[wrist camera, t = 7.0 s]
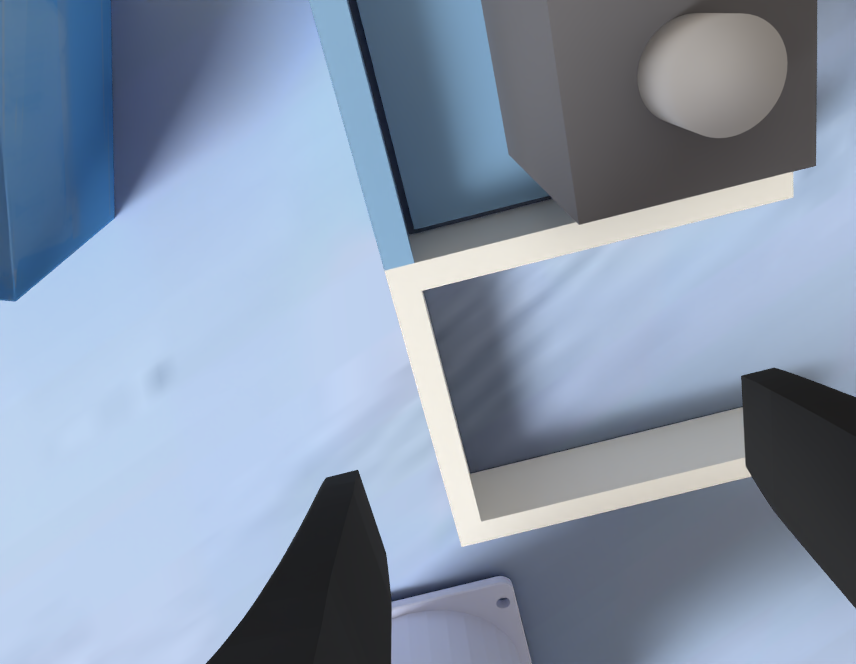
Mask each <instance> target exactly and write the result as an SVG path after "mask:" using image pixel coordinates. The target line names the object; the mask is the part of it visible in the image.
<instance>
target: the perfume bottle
mask: <svg viewBox="0 0 856 664" xmlns="http://www.w3.org/2000/svg"><path fill="white" fill-rule="evenodd" d="M114 218H115V207H114V150H113V93H112V36H111V0H0V300H5V301H17V300H18V299H19V298H20V297H21V296H23V295H24V294H25V293H26V292H27V291H29V290H30V289H31V288H32V287H33V286H35V285H36V284H37V283H38V282H39V281H40V280H42V279H43V278H44V277H45V276H46V275H48V274H49V273H50V272H51V271H52V270H54V269H55V268H56V267H57V266H58V265H60V264H61V263H62V262H63V261H64V260H65V259H67V258H68V257H69V256H70V255H71V254H73V253H74V252H75V251H76V250H77V249H79V248H80V247H81V246H82V245H83V244H84V243H86V242H87V241H88V240H89V239H90V238H92V237H93V236H94V235H95V234H96V233H98V232H99V231H100V230H101V229H102V228H103V227H105V226H106V225H107V224H108V223H109V222H111V221H112V220H113V219H114Z"/></svg>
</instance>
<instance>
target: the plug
mask: <svg viewBox="0 0 856 664" xmlns="http://www.w3.org/2000/svg"><path fill="white" fill-rule="evenodd" d="M481 4H482V10H483V15H484V21H485V26H486V32H487V37H488V43H489V48H490V54H491V60H492V65H493V71H494V76H495V82H496V87H497V93H498V98H499V104H500V109H501V115H502V121H503V126H504V132H505V137H506V143H507V148H508V154H509V155H510V156H511V157H512V158H513V159H514V160H515V161H516V162H517V163H518V164H519V165H520V166H521V167H522V168H523V169H524V170H525V171H526V172H527V173H528V174H529V175H530V176H531V177H532V178H533V179H534V180H535V181H536V182H537V183H538V184H539V185H540V186H541V187H542V188H543V189H544V190H545V191H546V192H547V193H548V194H549V195H550V196H551V197H552V198H553V199H554V200H555V201H556V202H557V203H558V204H559V205H560V206H561V207H562V208H563V209H564V210H565V211H566V212H567V213H568V214H569V215H570V216H571V217H572V218H573V219H574V220H575V221H576V222H577V223H578V224H579V225H581V224H585V223H589V222H593V221H597V220H601V219H605V218H609V217H613V216H617V215H621V214H625V213H629V212H633V211H637V210H641V209H645V208H649V207H653V206H657V205H661V204H665V203H669V202H673V201H677V200H681V199H685V198H689V197H693V196H697V195H701V194H705V193H709V192H713V191H717V190H721V189H725V188H729V187H733V186H737V185H741V184H745V183H749V182H753V181H757V180H761V179H765V178H769V177H773V176H777V175H781V174H785V173H789V172H793V171H797V170H801V169H805V168H809V167H813V166H816V88H817V0H481Z"/></svg>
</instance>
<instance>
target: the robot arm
mask: <svg viewBox="0 0 856 664" xmlns="http://www.w3.org/2000/svg"><path fill="white" fill-rule="evenodd" d="M741 380H742V401H743V422H744V443H745V464H746V468H747V469H748V471H749V473H750V474H751V476H752V478H753V479H754V481H755V482H756V484H757V486H758V487H759V489H760V491H761V492H762V494H763V495H764V497H765V498H766V500H767V501H768V503H769V504H770V506H771V507H772V509H773V511H774V512H775V513H776V514H777V516H778V517H779V518H780V519H781V521H782V522H783V523H784V524H785V525H786V527H787V528H788V529H789V530H790V531H791V533H792V534H793V535H794V536H795V537H796V539H797V540H798V541H799V542H800V543H801V545H802V546H803V547H804V548H805V549H806V550H807V552H808V553H809V554H810V555H811V556H812V558H813V559H814V560H815V561H816V562H817V563H818V565H819V566H820V567H821V568H822V569H823V570H824V572H825V573H826V574H827V575H828V576H829V578H830V579H831V580H832V581H833V582H834V583H835V585H836V586H837V587H838V588H839V589H840V590H841V592H842V593H843V594H844V595H845V596H846V598H847V599H848V600H849V601H850V602H851V603H852V605H853V606H854V607H855V608H856V397H854V396H851V395H848V394H846V393H843V392H840V391H838V390H835V389H832V388H830V387H827V386H825V385H822V384H819V383H817V382H814V381H811V380H809V379H806V378H803V377H801V376H798V375H795V374H792V373H789V372H786V371H783V370H780V369H777V368H771V369H767V370H763V371H759V372H755V373H751V374H747V375H743V376H741ZM501 598H506V599H504V600H498V599H501ZM206 664H532V662H531V658H530V653H529V649H528V645H527V641H526V637H525V633H524V629H523V625H522V621H521V617H520V613H519V609H518V605H517V601H516V597H515V592H514V588H513V585H512V582H511V580H510V579H509V578H507V577H504V576H497V577H492V578H488V579H484V580H480V581H476V582H472V583H468V584H463V585H459V586H455V587H451V588H447V589H443V590H439V591H435V592H430V593H426V594H422V595H418V596H414V597H410V598H406V599H402V600H397V601H393V602H391V592H390V582H389V574H388V565H387V557H386V552H385V549H384V546H383V543H382V540H381V537H380V534H379V531H378V528H377V525H376V522H375V519H374V516H373V513H372V510H371V507H370V504H369V501H368V498H367V495H366V492H365V489H364V486H363V483H362V480H361V477H360V474H359V471H358V470H356V471H351V472H347V473H343V474H339V475H335V476H331V477H327V478H326V479H325V480H324V482H323V483H322V485H321V487H320V489H319V491H318V493H317V495H316V497H315V499H314V501H313V503H312V505H311V507H310V509H309V511H308V513H307V515H306V516H305V518H304V520H303V522H302V524H301V526H300V528H299V530H298V532H297V533H296V535H295V537H294V539H293V540H292V542H291V544H290V546H289V548H288V549H287V551H286V553H285V555H284V556H283V558H282V560H281V562H280V563H279V565H278V567H277V568H276V570H275V571H274V573H273V574H272V576H271V578H270V579H269V581H268V582H267V584H266V585H265V587H264V589H263V590H262V592H261V593H260V595H259V596H258V598H257V599H256V601H255V602H254V604H253V605H252V607H251V608H250V610H249V611H248V612H247V614H246V615H245V617H244V618H243V619H242V621H241V622H240V623H239V624H238V626H237V627H236V628H235V630H234V631H233V632H232V633H231V635H230V636H229V637H228V639H227V640H226V641H225V642H224V644H223V645H222V646H221V647H220V648H219V650H218V651H217V652H216V653H215V654H214V655H213V656H212V657H211V659H210V660H209V661H208V662H207V663H206Z"/></svg>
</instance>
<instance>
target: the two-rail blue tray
mask: <svg viewBox="0 0 856 664" xmlns="http://www.w3.org/2000/svg"><path fill="white" fill-rule="evenodd" d="M356 1H357V5H358V9H359V13H360V17H361V20H362V24H363V28H364V32H365V36H366V40H367V44H368V48H369V52H370V56H371V60H372V64H373V68H374V72H375V76H376V80H377V84H378V88H379V92H380V96H381V100H382V104H383V107H384V111H385V115H386V119H387V123H388V127H389V131H390V135H391V139H392V143H393V147H394V151H395V155H396V159H397V163H398V167H399V171H400V175H401V179H402V183H403V187H404V191H405V194H406V198H407V202H408V206H409V210H410V214H411V218H412V222H413V226H414V230H416V229H420V228H424V227H428V226H432V225H435V224H439V223H443V222H447V221H451V220H455V219H459V218H463V217H467V216H471V215H475V214H479V213H483V212H487V211H491V210H495V209H499V208H502V207H506V206H510V205H514V204H518V203H522V202H526V201H530V200H534V199H538V198H542V197H546V196H550V195H549V194H548V193H547V192H546V191H545V190H544V189H543V188H542V187H541V186H540V185H539V184H538V183H537V182H536V181H535V180H534V179H533V178H532V177H531V176H530V175H529V174H528V173H527V172H526V171H525V170H524V169H523V168H522V167H521V166H520V165H519V164H518V163H517V162H516V161H515V160H514V159H513V158H512V157H511V156H510V155H509V154H508V148H507V143H506V137H505V132H504V126H503V121H502V115H501V109H500V104H499V98H498V93H497V87H496V82H495V76H494V71H493V65H492V60H491V54H490V48H489V43H488V37H487V32H486V26H485V21H484V15H483V10H482V4H481V0H356ZM309 2H310V6H311V9H312V13H313V17H314V20H315V24H316V27H317V31H318V34H319V38H320V42H321V45H322V49H323V52H324V56H325V59H326V63H327V67H328V70H329V74H330V77H331V81H332V85H333V88H334V92H335V95H336V99H337V102H338V106H339V110H340V113H341V117H342V120H343V124H344V127H345V131H346V135H347V138H348V142H349V145H350V149H351V153H352V156H353V160H354V163H355V167H356V170H357V174H358V178H359V181H360V185H361V188H362V192H363V195H364V199H365V203H366V206H367V210H368V213H369V217H370V221H371V224H372V228H373V231H374V235H375V238H376V242H377V246H378V249H379V253H380V256H381V260H382V263H383V267H384V271H385V274H386V278H387V281H388V285H389V288H390V292H391V296H392V299H393V303H394V306H395V310H396V314H397V317H398V321H399V324H400V328H401V331H402V335H403V339H404V342H405V346H406V349H407V353H408V356H409V360H410V364H411V367H412V371H413V374H414V378H415V382H416V385H417V389H418V392H419V396H420V399H421V403H422V407H423V410H424V414H425V417H426V421H427V424H428V428H429V432H430V435H431V439H432V442H433V446H434V450H435V453H436V457H437V460H438V464H439V467H440V471H441V475H442V478H443V482H444V485H445V489H446V492H447V496H448V500H449V503H450V507H451V510H452V514H453V518H454V521H455V525H456V528H457V532H458V535H459V539H460V543H461V546H462V547H464V546H468V545H472V544H476V543H480V542H484V541H488V540H493V539H497V538H501V537H505V536H509V535H513V534H517V533H521V532H525V531H530V530H534V529H538V528H542V527H546V526H550V525H554V524H558V523H562V522H567V521H571V520H575V519H579V518H583V517H587V516H591V515H595V514H599V513H604V512H608V511H612V510H616V509H620V508H624V507H628V506H632V505H636V504H641V503H645V502H649V501H653V500H657V499H661V498H665V497H669V496H673V495H678V494H682V493H686V492H690V491H694V490H698V489H702V488H706V487H710V486H715V485H719V484H723V483H727V482H731V481H735V480H739V479H743V478H747V477H752V476H751V474H750V473H749V471H748V469H747V468H746V464H745V443H744V422H743V407H741V408H736V409H732V410H728V411H724V412H720V413H716V414H712V415H708V416H704V417H700V418H696V419H692V420H688V421H684V422H679V423H675V424H671V425H667V426H663V427H659V428H655V429H651V430H647V431H643V432H639V433H635V434H631V435H626V436H622V437H618V438H614V439H610V440H606V441H602V442H598V443H594V444H590V445H586V446H582V447H578V448H574V449H569V450H565V451H561V452H557V453H553V454H549V455H545V456H541V457H537V458H533V459H529V460H525V461H521V462H516V463H512V464H508V465H504V466H500V467H496V468H492V469H488V470H484V471H480V472H476V473H472V474H470V471H469V467H468V463H467V459H466V456H465V452H464V448H463V444H462V440H461V436H460V432H459V428H458V424H457V421H456V417H455V413H454V409H453V405H452V401H451V397H450V393H449V390H448V386H447V382H446V378H445V374H444V370H443V366H442V362H441V358H440V355H439V351H438V347H437V343H436V339H435V335H434V331H433V327H432V323H431V320H430V316H429V312H428V308H427V304H426V300H425V296H424V292H423V290H427V289H431V288H435V287H439V286H443V285H447V284H451V283H455V282H459V281H463V280H467V279H471V278H475V277H479V276H483V275H487V274H491V273H495V272H499V271H503V270H507V269H511V268H515V267H519V266H523V265H527V264H531V263H535V262H539V261H543V260H546V259H550V258H554V257H558V256H562V255H566V254H570V253H574V252H578V251H582V250H586V249H590V248H594V247H598V246H602V245H606V244H610V243H614V242H618V241H622V240H626V239H630V238H634V237H638V236H642V235H646V234H650V233H654V232H658V231H662V230H666V229H670V228H674V227H678V226H682V225H686V224H689V223H693V222H697V221H701V220H705V219H709V218H713V217H717V216H721V215H725V214H729V213H733V212H737V211H741V210H745V209H749V208H753V207H757V206H761V205H765V204H769V203H773V202H777V201H781V200H785V199H789V198H793V172H789V173H785V174H781V175H777V176H773V177H769V178H765V179H761V180H757V181H753V182H749V183H745V184H741V185H737V186H733V187H729V188H725V189H721V190H717V191H713V192H709V193H705V194H701V195H697V196H693V197H689V198H685V199H681V200H677V201H673V202H669V203H665V204H661V205H657V206H653V207H649V208H645V209H641V210H637V211H633V212H629V213H625V214H621V215H617V216H613V217H609V218H605V219H601V220H597V221H593V222H589V223H585V224H581V225H579V224H578V223H577V222H576V221H575V220H574V219H573V218H572V217H571V216H570V215H569V214H568V213H567V212H566V211H565V210H564V209H563V208H562V207H561V206H560V205H559V204H558V203H557V202H556V201H555V200H554V199H549V200H545V201H541V202H537V203H533V204H529V205H525V206H521V207H517V208H513V209H509V210H505V211H502V212H498V213H494V214H490V215H486V216H482V217H478V218H474V219H470V220H466V221H462V222H458V223H454V224H450V225H446V226H442V227H438V228H435V229H431V230H427V231H423V232H419V233H415V234H411V235H409V234H408V230H407V226H406V222H405V219H404V215H403V211H402V207H401V203H400V199H399V195H398V191H397V187H396V184H395V180H394V176H393V172H392V168H391V164H390V160H389V156H388V153H387V149H386V145H385V141H384V137H383V133H382V129H381V125H380V121H379V118H378V114H377V110H376V106H375V102H374V98H373V94H372V90H371V86H370V83H369V79H368V75H367V71H366V67H365V63H364V59H363V55H362V52H361V48H360V44H359V40H358V36H357V32H356V28H355V24H354V20H353V17H352V13H351V9H350V5H349V1H348V0H309Z"/></svg>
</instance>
